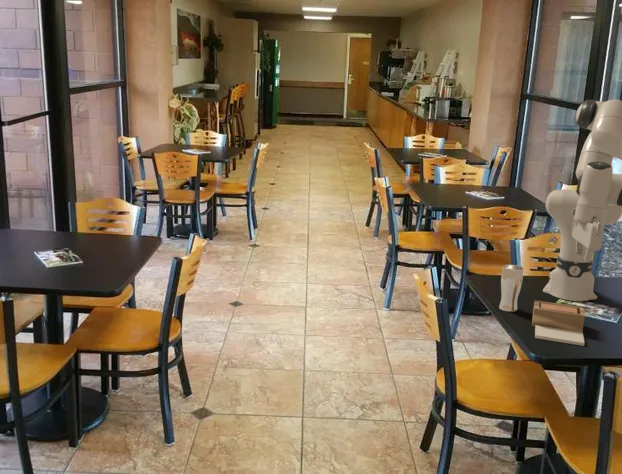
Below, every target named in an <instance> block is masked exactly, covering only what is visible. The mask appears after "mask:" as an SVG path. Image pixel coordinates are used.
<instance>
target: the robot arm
mask: <svg viewBox="0 0 622 474" xmlns="http://www.w3.org/2000/svg"><path fill="white" fill-rule="evenodd" d="M575 118H576V124H577V126H578V127H580V128H581V129H584V130H590V131H591V132H590V133H589V134H588V136H587V138H586V139H585V141H584V144H583V146H582V147H581V149H582V150H581V151H580V155H579V159H578V163H577V166H576V170H575V176H576V178H577V186H576V190H573V189H565V188H564V189H554V190H552V191H551V192H550V193H549V194H548V195H547V197H546V198H545V199H546V200H545V210H546V212H547V213H548V215H549V216H551V218H552V219H553V220H554V222H555V223H556V224H557V227H558V229H559V234H560V248H559V255H558V256H557V259H556V267H555V269H553V270H552V271H550V272H549V275H548V278H549V280H548V282H547V284H546V285H545V286H544V288H543V290H542V292H543V293H545V294H548V295H551V296H553V297H555V298H557V299H558V298H559V299H562V300H566V301H573V302H585V301H587V302H588V301H589V300H590V301H591V300H597V299H598V295H596V293H595V292H594V284H595V276H594V275H593V274H592V272H591V271H592V268H593V260H592V257H593V256H594V254H595V251H599V252H600V251H601V249H602V245H603V238H604V226H609V225H611V226H612V225H615V224H616V223H617V222H618V221H619V220H620V218H621V217H622V174H620V173H613V172H614V171H613V170H614V169H613V165H612V163H613V159H614V158H615V157H616V158H617V159H619V160H621V161H622V100H621V99H615V98H614V99H609V100H607V101H600V100H595V99H586V100H584V101H582V103H581V104H580V106H578V108H577V111H576V114H575Z"/></svg>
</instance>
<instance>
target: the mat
mask: <svg viewBox="0 0 622 474" xmlns="http://www.w3.org/2000/svg"><path fill="white" fill-rule="evenodd" d="M534 339H538V340H544V341H551V342H557V343H564V344H571V345H577V346H582V347H584V346H585V337H584V333H583V331H582V332H577V331H571V330H564V329H558V328H551V327H545V326H538V325H536V326H535V327H534Z"/></svg>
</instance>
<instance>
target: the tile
mask: <svg viewBox="0 0 622 474" xmlns="http://www.w3.org/2000/svg"><path fill="white" fill-rule="evenodd" d="M540 308H542V309H549V310H556V311H563V312H569V313H576V314H578V313H577V308H572V307H565V306H558V305H551V304H544V303H541V306H540Z"/></svg>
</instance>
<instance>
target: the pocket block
mask: <svg viewBox="0 0 622 474" xmlns="http://www.w3.org/2000/svg"><path fill="white" fill-rule="evenodd" d="M533 301H534V303H533V308H532V316H531V327H534V328H535V326H536V325H538V326H545V327H551V328H558V329H564V330H571V331H577V332H583V331H584V323H585V317H586V316H585V315H586V314H585V310H584V306H577V305H572V304H571V305H570V304H564V303H557V302H556V303H555V302H549V301H542V300H536V299H535V300H533ZM541 303H544V304H551V305H558V306H565V307H572V308H577V313H578V314H576V313H569V312H563V311H556V310H549V309H542V308H540V306H541Z"/></svg>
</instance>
